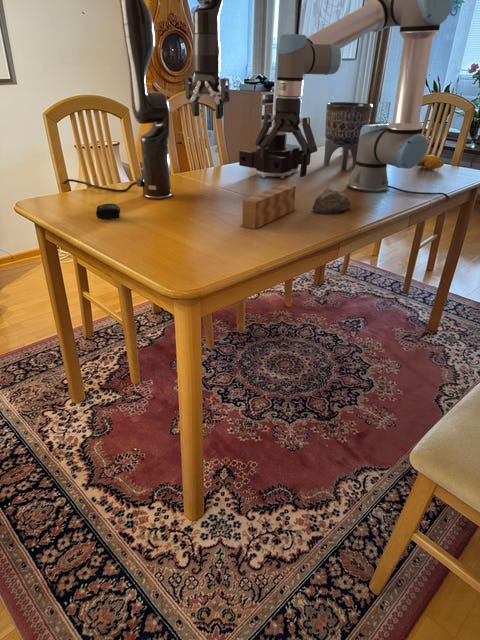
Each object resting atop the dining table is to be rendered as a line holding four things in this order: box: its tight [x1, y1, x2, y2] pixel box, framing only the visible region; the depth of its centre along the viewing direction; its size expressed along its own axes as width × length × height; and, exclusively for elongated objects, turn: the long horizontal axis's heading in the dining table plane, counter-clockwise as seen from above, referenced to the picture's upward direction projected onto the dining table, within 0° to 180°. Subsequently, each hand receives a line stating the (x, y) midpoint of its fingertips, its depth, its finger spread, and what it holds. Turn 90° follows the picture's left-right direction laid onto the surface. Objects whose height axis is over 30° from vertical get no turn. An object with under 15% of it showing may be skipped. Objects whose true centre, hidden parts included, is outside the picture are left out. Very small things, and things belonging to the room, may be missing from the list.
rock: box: [312, 187, 352, 214], centre depth 148 cm, size 13×9×6 cm, turn 131°
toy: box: [416, 154, 445, 171], centre depth 211 cm, size 11×6×15 cm
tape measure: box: [95, 203, 121, 221], centre depth 137 cm, size 7×7×4 cm
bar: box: [241, 183, 297, 230], centre depth 140 cm, size 24×4×8 cm, turn 146°
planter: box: [323, 101, 374, 172], centre depth 204 cm, size 20×20×26 cm
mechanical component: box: [238, 121, 304, 179], centre depth 191 cm, size 22×21×30 cm
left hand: (207, 117), depth 134 cm, fingers open, 8 cm apart
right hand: (283, 173), depth 141 cm, fingers open, 13 cm apart
